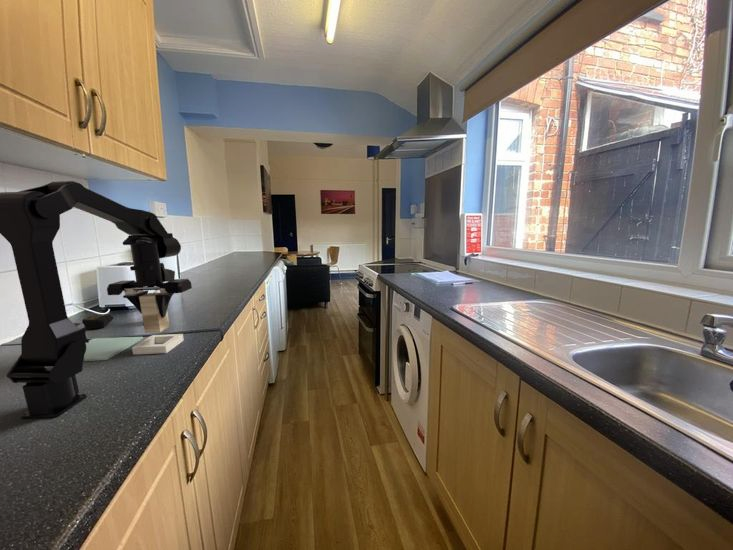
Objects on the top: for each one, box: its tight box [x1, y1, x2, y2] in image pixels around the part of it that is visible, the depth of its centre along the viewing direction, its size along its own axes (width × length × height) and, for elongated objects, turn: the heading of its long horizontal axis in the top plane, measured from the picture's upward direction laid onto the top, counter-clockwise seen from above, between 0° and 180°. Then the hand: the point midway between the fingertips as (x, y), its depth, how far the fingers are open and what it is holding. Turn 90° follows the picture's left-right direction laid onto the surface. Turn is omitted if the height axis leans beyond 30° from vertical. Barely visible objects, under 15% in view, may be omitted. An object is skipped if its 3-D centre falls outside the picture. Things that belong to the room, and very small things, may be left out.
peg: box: [139, 292, 170, 334], centre depth 82 cm, size 4×4×10 cm
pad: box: [83, 336, 144, 362], centre depth 83 cm, size 14×14×1 cm
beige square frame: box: [131, 333, 185, 356], centre depth 84 cm, size 8×8×2 cm
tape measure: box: [81, 313, 114, 330], centre depth 101 cm, size 7×7×4 cm
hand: (155, 317), depth 82 cm, fingers closed on peg, 4 cm apart
